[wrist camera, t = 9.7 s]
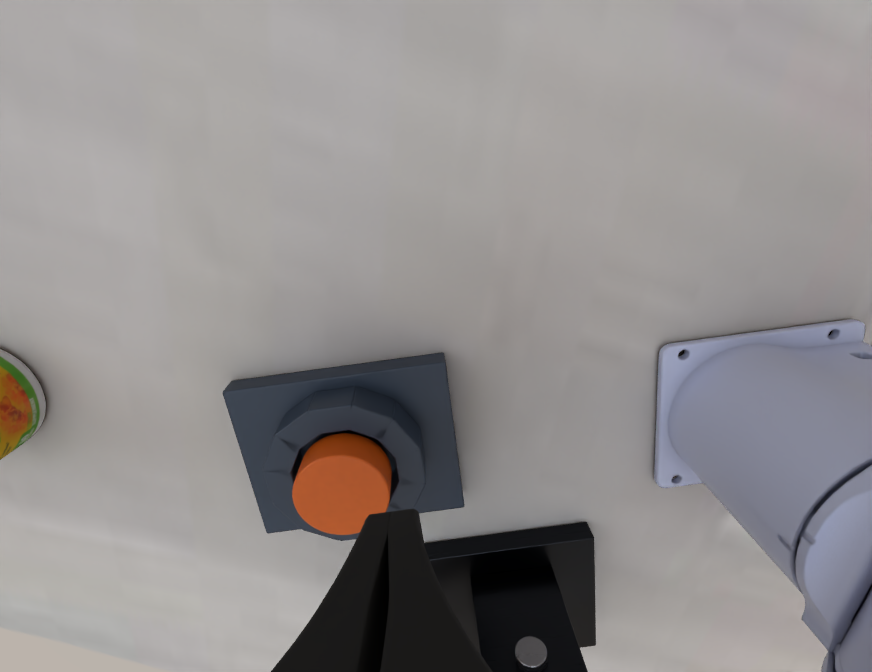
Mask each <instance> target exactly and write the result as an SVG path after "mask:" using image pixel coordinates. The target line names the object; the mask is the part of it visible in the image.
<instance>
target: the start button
mask: <svg viewBox="0 0 872 672" xmlns="http://www.w3.org/2000/svg"><path fill="white" fill-rule="evenodd" d="M391 476H392V470H391V464H390V461H389V459H388V457H387V455H386V453H385V452H384V451H383V450H382V448H381V447H380V446H378V445H377V444H376V443H375V442H373V441H372V440H370V439H368V438H366V437H363V436H360V435H357V434H351V433H339V434H333V435H329V436H326V437H324V438H322V439H320V440H319V441H317V442H315V443H314V444H313V445H312V446H311V447H310V448H309V449H308V450H307V452H306V453H305V455H304V457H303V459H302V462H301V464H300V467H299V470H298V473H297V475H296V478H295V481H294V484H293V489H292V498H293V503H294V505H295V508H296V510H297V512H298V513H299V515H300V516H301V517H302V519H303V520H304V521H305V522H307V523H308V524H309V525H311V526H312V527H314V528H316V529H318V530H320V531H322V532H325V533H329V534H335V535H350V534H356V533H359V532H360V531H361V529H362V527H363V524H364V522H365V520H366V518H367V517H368V515H369V514H377V513H384V512H386V511H387V508H388V506H389V501H390V491H391Z"/></svg>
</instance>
